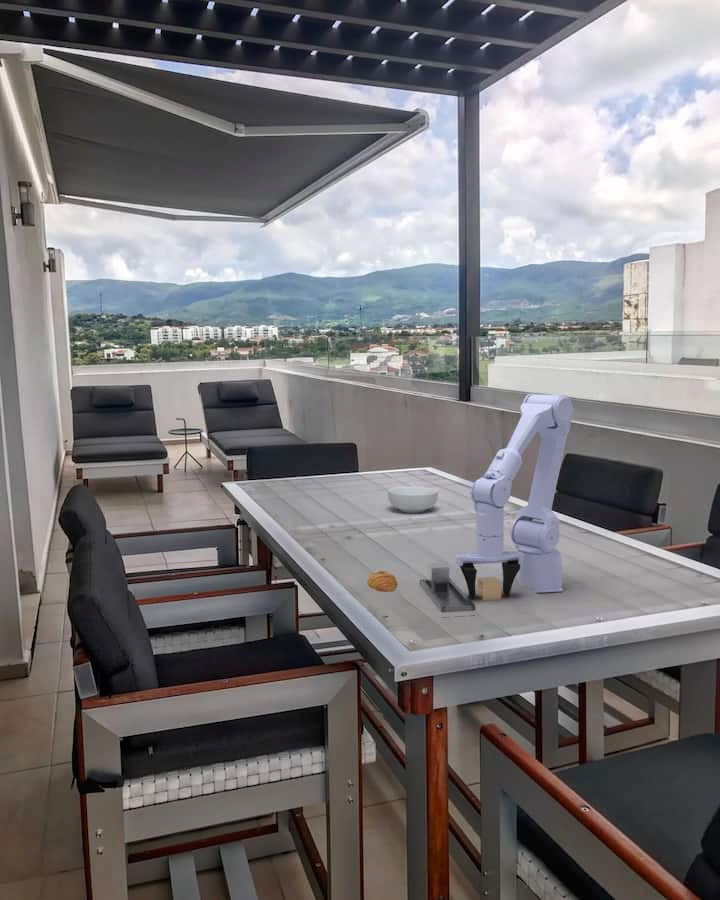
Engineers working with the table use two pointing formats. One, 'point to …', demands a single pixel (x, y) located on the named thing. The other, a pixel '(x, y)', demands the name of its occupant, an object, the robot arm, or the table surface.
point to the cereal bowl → (412, 498)
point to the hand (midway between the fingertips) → (489, 595)
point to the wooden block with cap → (489, 588)
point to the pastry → (382, 581)
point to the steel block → (438, 576)
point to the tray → (449, 598)
